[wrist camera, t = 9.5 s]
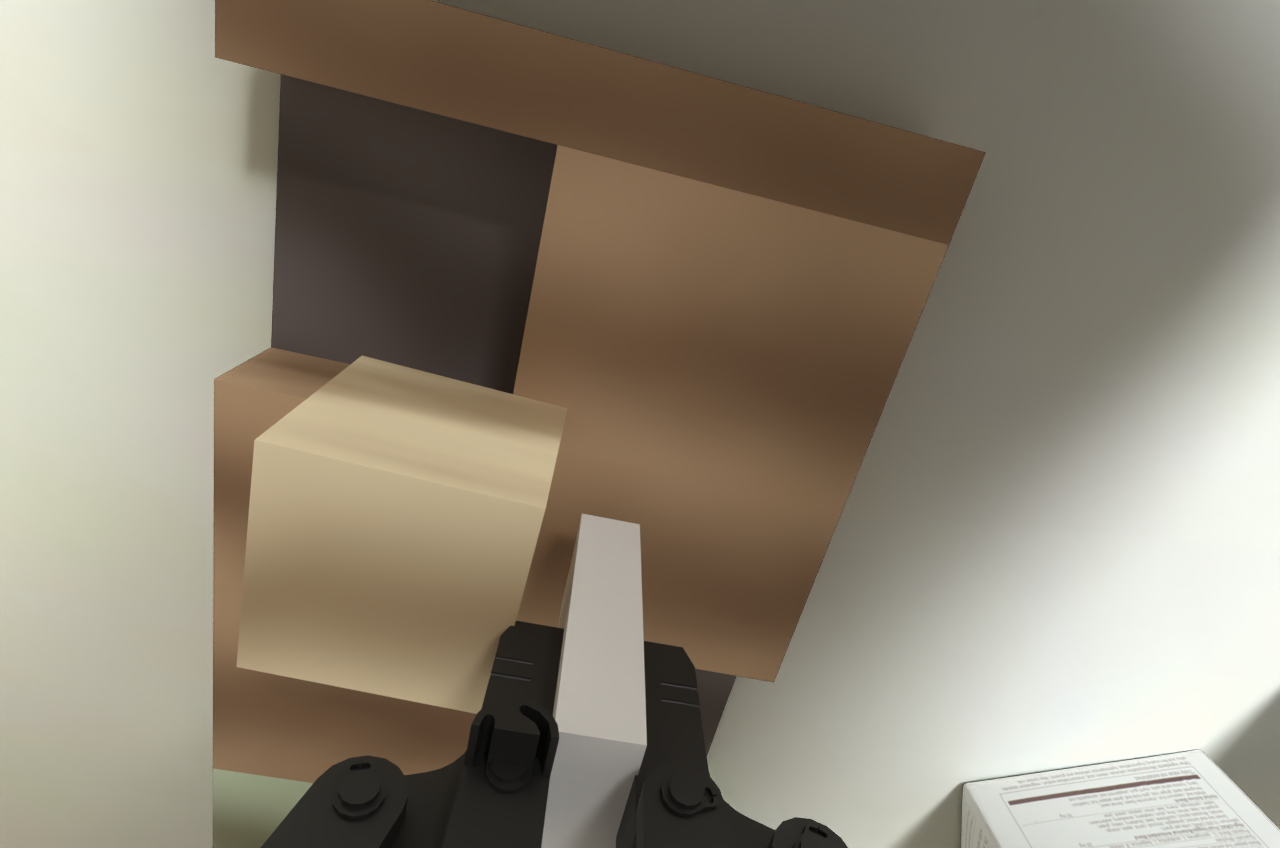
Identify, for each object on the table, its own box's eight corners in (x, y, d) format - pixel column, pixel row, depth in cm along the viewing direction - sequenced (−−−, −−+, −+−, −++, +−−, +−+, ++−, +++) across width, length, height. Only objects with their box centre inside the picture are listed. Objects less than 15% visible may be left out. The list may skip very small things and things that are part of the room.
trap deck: (288, -22, 16) (101, -117, 10) (927, 151, 17) (1071, 153, 12) (257, 813, 26) (155, 996, 20) (661, 871, 27) (671, 1054, 22)
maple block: (362, 355, 16) (254, 440, 11) (567, 408, 17) (545, 508, 12) (337, 531, 18) (236, 667, 13) (524, 573, 18) (490, 716, 14)
